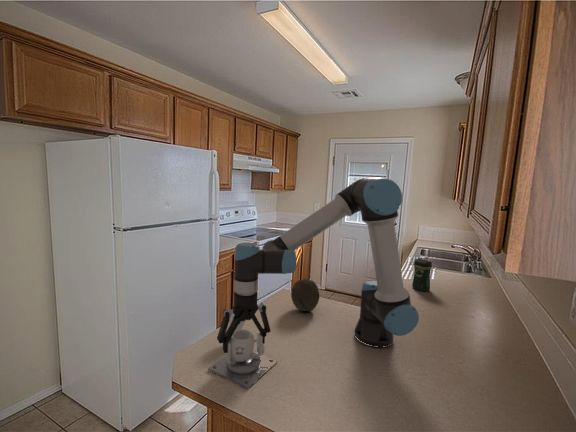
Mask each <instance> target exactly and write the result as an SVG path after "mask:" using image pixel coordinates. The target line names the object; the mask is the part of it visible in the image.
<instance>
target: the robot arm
mask: <svg viewBox="0 0 576 432" xmlns="http://www.w3.org/2000/svg"><path fill="white" fill-rule="evenodd" d="M402 203H403V193H402V190H401V188H400V186H399V185H398V184H397V183H396V182H395V181H394V180H392V179H391V178H386V177H380V176H378V177H366V178H365V177H364V178H359V179H358V180H356V181H354V182H353V183H351V184H349V185H348V186H347V187H345V188H344V189H343V190H341V191H340V192H338V193H336V194H335V195H334V199H333V200H331V201H330V202H328V203H326V204H325V205H324V206H322V207H321V208H319V209H317V210H316V211H315V212H313V213H312V214H310V215H309V216H307V217H306V218H304V219H303V220H301V221H300V222H299V223H297V224H295V225H294V226H292V227H291V228H289V229H288V230H286V231H285V232H283V233H282V234H281V235H279V236H277V237H276V238H275V239H272V240H271V239H270V240H268V241H266V242H264V243H263V245H262V249H260V245H259V244H258V243H255V242H241V243H238V244H236V246H235V248H234V249H235V250H234V269H233V270H234V277H233V278H234V279H233V280H234V281H233V291H234V293H233V307H232V309H228V310H227V309H224V310H223V318H222V321H221V324H220V327H219V330H218V333H217V337H216V339H217V341H218V343H219V344H222V351H223V353H224V354H225V356H226V361H227V363H228V364H229V363H230V356H231V343H230V342H229V341H230V339H231V337H232V335H233V333H234V332H235V330H236V328H237V326H238V325H239V324H240V322H241V321H245V320H246V321H251V320H252V323H254V326H255V327H256V328H257V330H258V332H257V333H256V335H257V336H256V340H257V339H258V340H261V341H262V342H263V344H264V345H265V341H266V340H265V339H266V336H267V334H269V333H271V326H270V323H269V319H268V316H267V306H266V304H265V303H260V304H258V290H259V274H262V275H263V274H264V275H265V274H267V275H268V274H269V275H270V274H276V275H278V274H281V275H285V274H286V275H287V274H293V273H295V272H296V269H297V254H296V252H295V251H296V250H297V249H299V248H301V247H302V246H303V245H305V244H306V243H308V242H309V241H311V240H312V239H314V238H315V237H317V236H318V235H320V234H321V233H323V232H325V231H326V230H328V229H329V228H330V227H332V226H333V225H334V224H337V222H339V221H341V220H342V219H344V218H345V217H352V216H353V215H355V214H356V213H359V212H360V214H361V220H362V222H364V223H365V224H366V225H367V229H368V234H369V236H368V237H369V242H370V248H371V253H372V261H373V267H374V273H375V278H376V280H367V281H364V282H363V283H362V285H361V292H360V293H361V295H360V312H359V318H358V321H357V323H356V325H355V326H354V327H355V328H354V333H355V336H356V337H357V338H358V339H359V340H360V341H362V342H364V343H366V344H369V345H372V346H378V347H383V346H388V345H390V344H392V343H393V344H394V336H397V337H402V336H406V335H409V334H411V332H414V329H415V328H416V327H417V326H418V324H419V320H420V315H419V311H418V310H417V307H415V306H414V305H412V302H411V296H410V292H409V290H408V289H406V288H405V287H404V281H403V274H402V267H401V261H400V254H399V247H398V240H397V233H396V227H395V226H396V225H395V221H396V219H397V218H398V217H399V212H398V210H399V209H400V206H402ZM258 311H259V313H260V316H261V320H262V325H263V327H262V325H261V322H259V319H258V318H257V316H256V313H257V312H258ZM233 313H234V315H235V316H234V317H233V321H232V323H231V324H229V323H230V317H231V315H232V314H233ZM246 321H245V322H246ZM228 326H229V327H228ZM354 333H353V334H354ZM355 336H354V337H355ZM393 344H392V345H393ZM256 352H258V354H260V353H261V352H262V345H261V343H260V342H256Z"/></svg>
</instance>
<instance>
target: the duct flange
mask: <svg viewBox="0 0 576 432" xmlns="http://www.w3.org/2000/svg"><path fill="white" fill-rule="evenodd" d="M269 361H270V362H273V360H269ZM260 363H261V360H260V357H259V356H254V355H253V354H251V356H250V358H249V359H248V360H246V361H243V362H237V361H234V360H233V359H232V358H231V357H230V363H229V364H228V363H227V361H226V355H225V356H223V357H222V358H220V359H219V360H218V361H215V363H213V364H212V365H210V366H209V367H207V371H208V370H210V371H212V372H214V373H216V374H218V375H220V376H222V377H224V378H225V379H224V378H223V379H224V380H226V379H228V380H230V381H229V382H231V381H232V382H231V383H233V382H234V383H233V384H235V383H236V384H235V385H237V384H238V385H237V386H239V385H240V386H239V387H241V386H242V387H241V388H243V387H244V388H243V389H245V388H246V389H245V390H247V389H248V388H249V387H250V386H251V385H252V384H253V383H254V382H255V381H256V380H257V379H258V378H259V377H260V376H261V375H262V374H263V373H264V372H265V371H266V370H260V368H262V369H263V368H267V369H268V367H261V366H260ZM270 367H271V366H270ZM210 371H209V372H210ZM212 372H211V373H212ZM214 373H213V374H214ZM216 374H215V375H216ZM218 375H217V376H218ZM220 376H219V377H220ZM222 377H221V378H222ZM228 380H227V381H228ZM254 384H255V383H254ZM254 384H253V385H254ZM253 385H252V386H253ZM252 386H251V387H252ZM251 387H250V388H251ZM250 388H249V389H250ZM249 389H248V390H249Z"/></svg>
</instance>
